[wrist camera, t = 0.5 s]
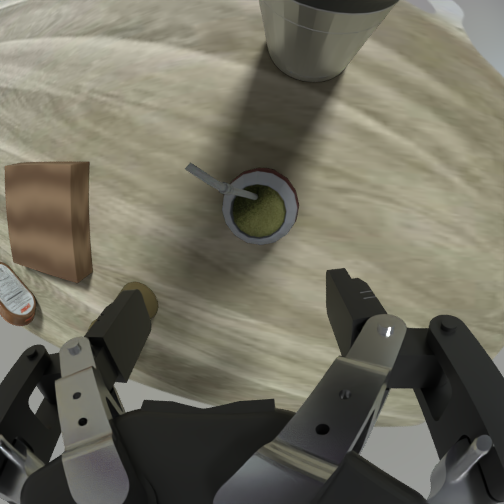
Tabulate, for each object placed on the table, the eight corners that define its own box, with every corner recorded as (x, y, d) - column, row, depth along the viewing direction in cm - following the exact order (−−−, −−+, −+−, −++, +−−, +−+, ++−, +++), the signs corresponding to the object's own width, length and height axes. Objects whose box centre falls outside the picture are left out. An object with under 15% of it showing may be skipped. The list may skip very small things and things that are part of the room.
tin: (0, 264, 41) (-28, 280, 33) (1, 253, 40) (-27, 269, 32) (42, 312, 43) (16, 335, 35) (45, 303, 42) (17, 325, 34)
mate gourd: (290, 232, 32) (293, 296, 18) (222, 220, 33) (176, 274, 19) (302, 167, 30) (317, 182, 16) (230, 156, 30) (184, 162, 16)
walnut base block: (22, 162, 33) (4, 166, 29) (89, 161, 32) (70, 164, 28) (28, 253, 38) (13, 262, 35) (92, 271, 37) (77, 283, 34)
